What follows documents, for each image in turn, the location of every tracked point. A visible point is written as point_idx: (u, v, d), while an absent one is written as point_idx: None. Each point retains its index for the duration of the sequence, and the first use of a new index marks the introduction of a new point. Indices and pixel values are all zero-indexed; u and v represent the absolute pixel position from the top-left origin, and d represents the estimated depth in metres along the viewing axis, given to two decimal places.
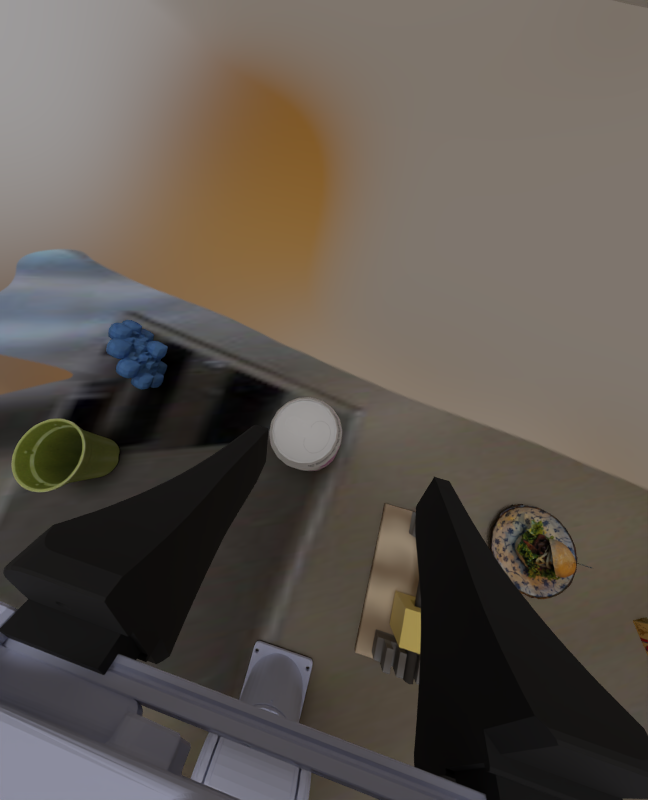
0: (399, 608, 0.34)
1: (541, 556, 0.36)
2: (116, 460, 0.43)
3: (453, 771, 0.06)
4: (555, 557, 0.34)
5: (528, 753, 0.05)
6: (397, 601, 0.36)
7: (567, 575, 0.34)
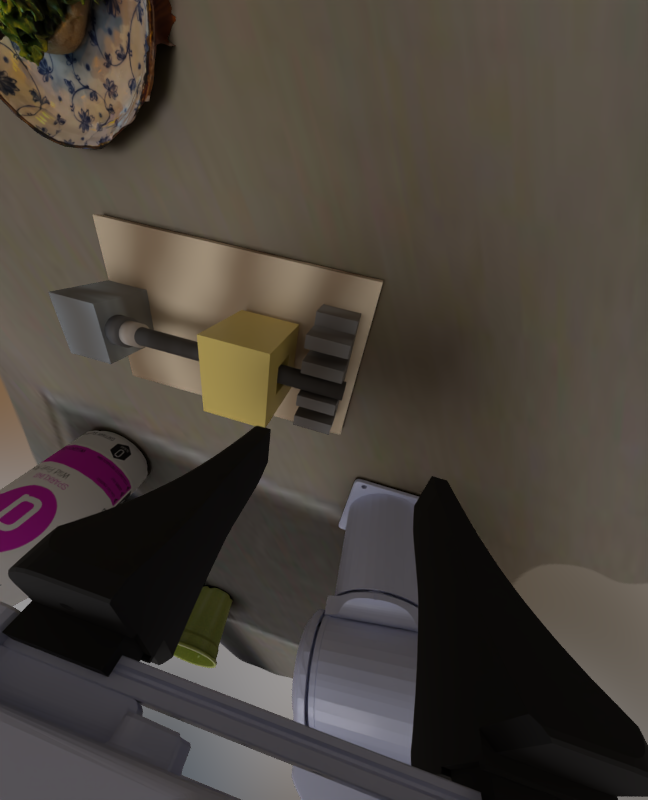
0: None
1: None
2: (212, 590, 0.47)
3: (449, 770, 0.06)
4: None
5: (523, 751, 0.05)
6: None
7: None
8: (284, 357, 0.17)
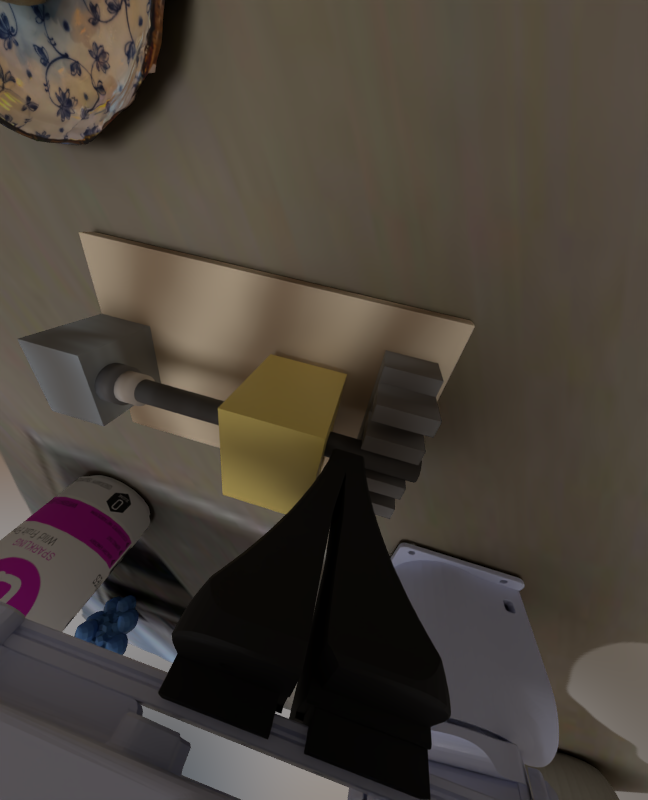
0: None
1: None
2: None
3: (303, 714, 0.06)
4: None
5: (334, 682, 0.05)
6: None
7: None
8: (332, 424, 0.12)
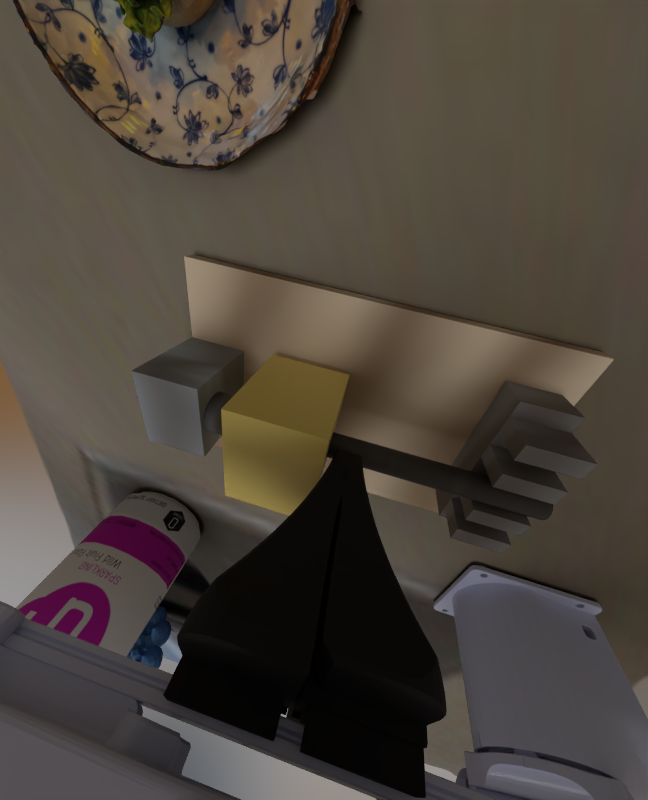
0: None
1: None
2: None
3: (299, 713, 0.06)
4: None
5: (330, 681, 0.05)
6: None
7: None
8: (335, 425, 0.12)
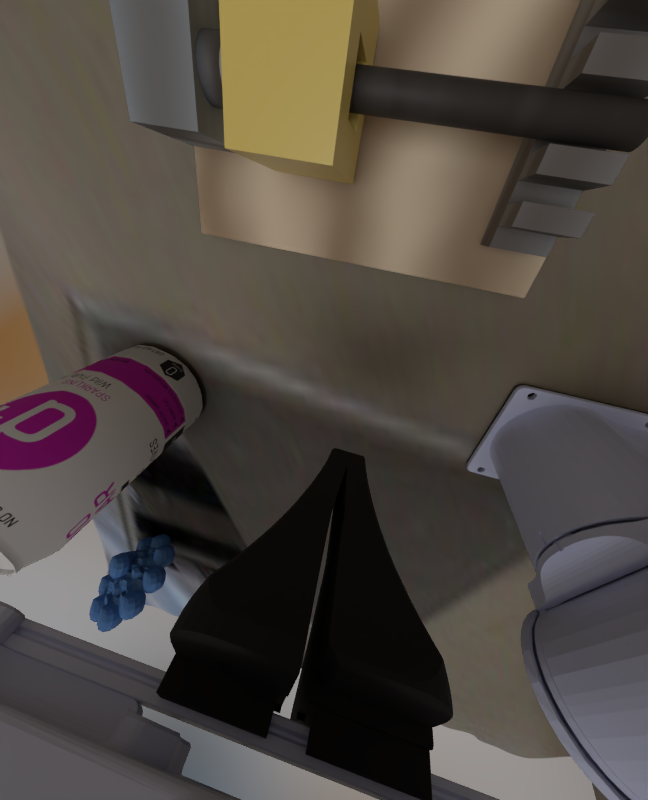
0: (272, 163, 0.11)
1: None
2: None
3: (304, 715, 0.06)
4: None
5: (335, 683, 0.05)
6: (277, 167, 0.13)
7: None
8: (365, 39, 0.09)
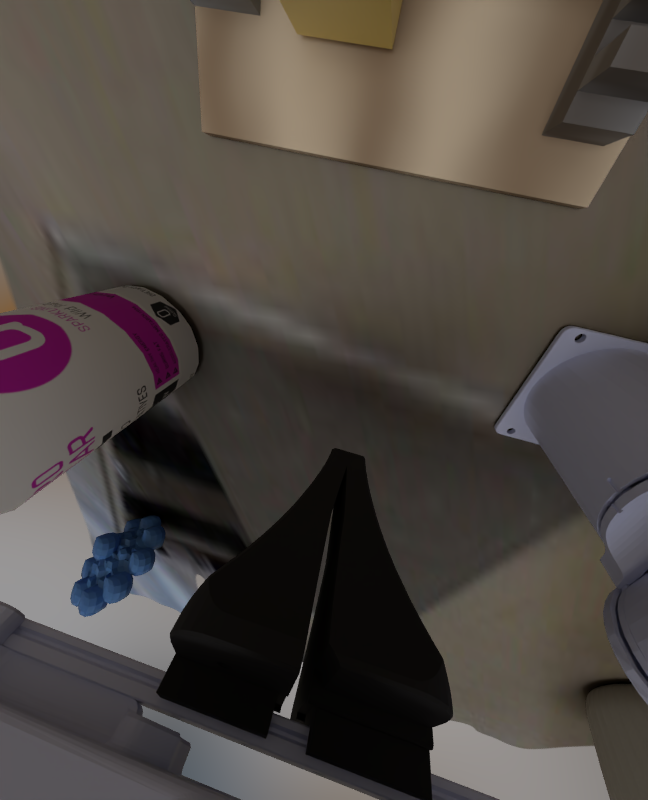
0: None
1: None
2: None
3: (304, 715, 0.06)
4: None
5: (335, 683, 0.05)
6: (302, 12, 0.10)
7: None
8: None
